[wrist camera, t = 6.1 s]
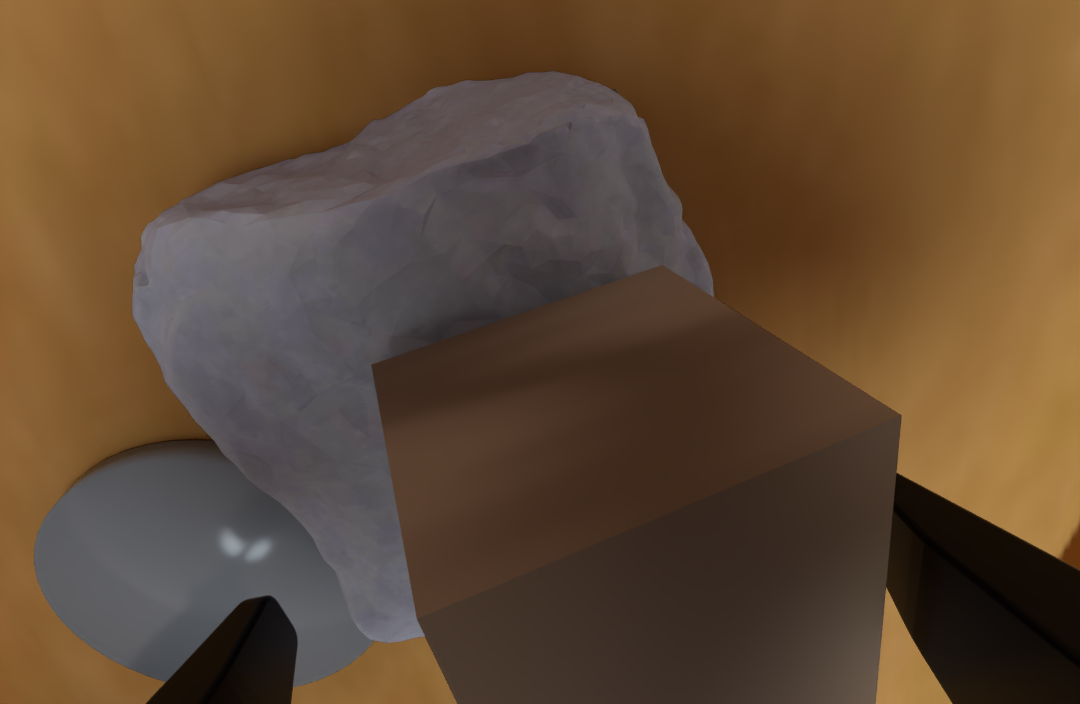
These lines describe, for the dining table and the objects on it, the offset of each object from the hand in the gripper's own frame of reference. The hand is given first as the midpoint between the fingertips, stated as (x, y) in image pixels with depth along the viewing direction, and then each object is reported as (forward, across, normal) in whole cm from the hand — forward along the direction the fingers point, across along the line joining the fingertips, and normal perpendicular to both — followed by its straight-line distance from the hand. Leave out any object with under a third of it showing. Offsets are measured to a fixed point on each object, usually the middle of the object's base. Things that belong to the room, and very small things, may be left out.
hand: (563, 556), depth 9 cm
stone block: (+7, +1, 0) cm, 7 cm away
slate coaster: (+6, +10, +5) cm, 13 cm away
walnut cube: (+3, 0, 0) cm, 3 cm away
